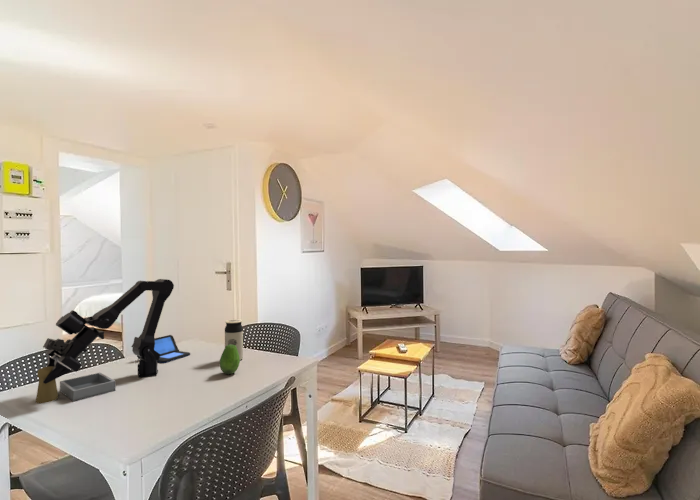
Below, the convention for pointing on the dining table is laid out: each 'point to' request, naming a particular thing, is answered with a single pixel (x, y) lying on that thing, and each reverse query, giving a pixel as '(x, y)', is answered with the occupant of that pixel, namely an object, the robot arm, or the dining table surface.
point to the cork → (46, 387)
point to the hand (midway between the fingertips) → (41, 381)
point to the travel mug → (234, 335)
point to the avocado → (229, 359)
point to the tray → (87, 386)
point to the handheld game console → (168, 349)
